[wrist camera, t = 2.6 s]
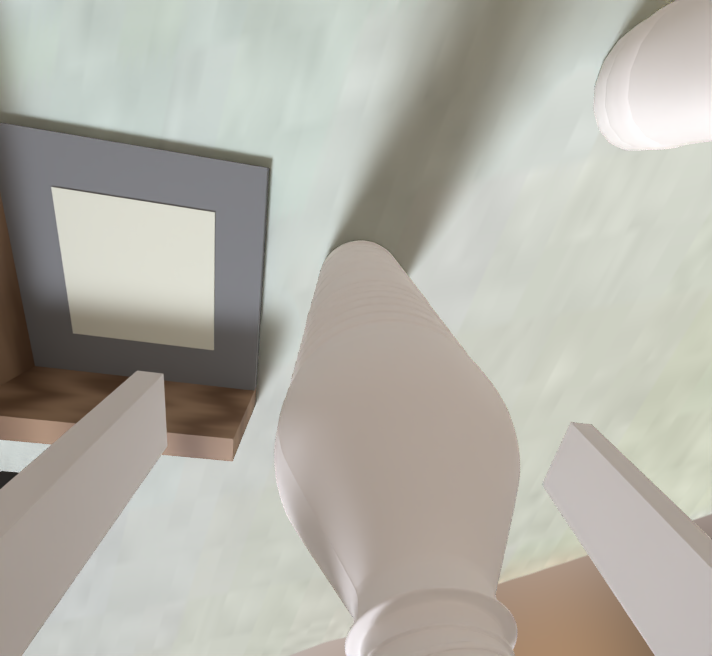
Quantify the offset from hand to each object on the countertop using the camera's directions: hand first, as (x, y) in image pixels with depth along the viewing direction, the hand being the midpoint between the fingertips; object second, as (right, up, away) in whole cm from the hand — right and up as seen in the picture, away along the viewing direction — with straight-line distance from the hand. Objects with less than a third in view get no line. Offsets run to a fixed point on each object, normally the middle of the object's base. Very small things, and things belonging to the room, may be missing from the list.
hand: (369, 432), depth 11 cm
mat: (-17, +8, +16) cm, 24 cm away
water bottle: (-1, +7, +17) cm, 18 cm away
